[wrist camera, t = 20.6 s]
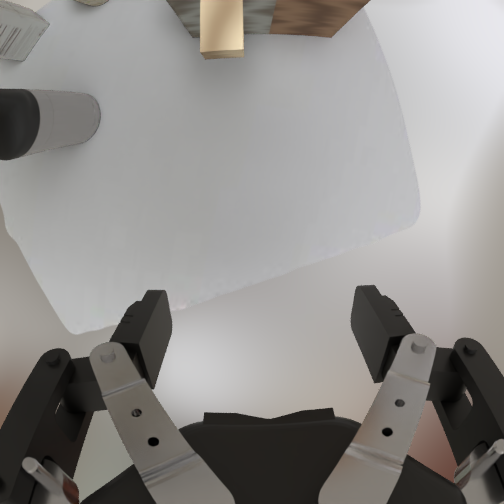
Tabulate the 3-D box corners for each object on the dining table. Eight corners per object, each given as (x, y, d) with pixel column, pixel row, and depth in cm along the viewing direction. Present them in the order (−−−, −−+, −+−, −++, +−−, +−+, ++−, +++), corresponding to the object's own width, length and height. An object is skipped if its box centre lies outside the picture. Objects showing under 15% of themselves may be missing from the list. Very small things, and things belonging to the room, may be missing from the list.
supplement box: (6, 44, 34) (-48, 37, 19) (31, 8, 31) (-21, -8, 16) (24, 62, 37) (-34, 57, 21) (51, 24, 34) (-4, 7, 19)
